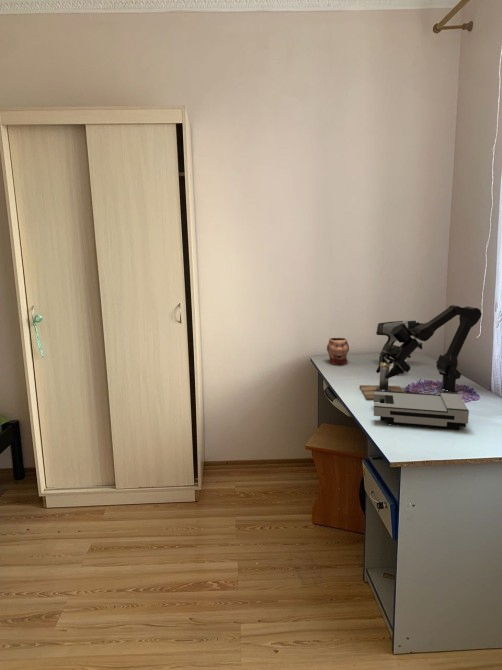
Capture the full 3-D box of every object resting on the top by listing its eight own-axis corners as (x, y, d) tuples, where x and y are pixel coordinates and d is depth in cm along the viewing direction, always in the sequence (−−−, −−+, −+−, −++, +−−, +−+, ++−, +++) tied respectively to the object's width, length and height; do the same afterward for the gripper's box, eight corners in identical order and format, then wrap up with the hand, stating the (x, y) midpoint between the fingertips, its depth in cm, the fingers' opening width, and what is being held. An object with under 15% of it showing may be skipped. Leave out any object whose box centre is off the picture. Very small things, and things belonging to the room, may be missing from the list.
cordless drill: (421, 367, 250) (424, 321, 245) (375, 365, 255) (377, 320, 250) (419, 363, 258) (422, 319, 253) (374, 362, 262) (376, 318, 258)
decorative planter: (323, 358, 272) (324, 335, 269) (344, 358, 272) (344, 334, 270) (330, 367, 252) (331, 342, 250) (352, 366, 253) (353, 341, 250)
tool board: (409, 400, 196) (409, 398, 196) (366, 400, 197) (366, 397, 197) (398, 388, 214) (399, 385, 214) (359, 387, 215) (359, 385, 215)
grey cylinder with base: (394, 392, 204) (395, 363, 202) (383, 394, 201) (384, 365, 199) (383, 388, 210) (385, 360, 207) (373, 390, 207) (374, 362, 204)
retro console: (373, 406, 191) (374, 387, 189) (456, 413, 183) (458, 393, 181) (373, 425, 171) (374, 403, 169) (467, 433, 163) (468, 411, 161)
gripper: (384, 333, 211) (360, 358, 211) (405, 341, 192) (379, 368, 193) (399, 349, 213) (376, 374, 213) (421, 359, 195) (395, 385, 195)
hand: (381, 375), depth 204 cm, fingers open, 9 cm apart
